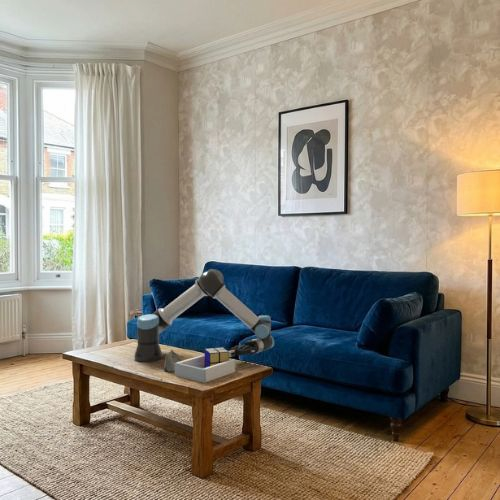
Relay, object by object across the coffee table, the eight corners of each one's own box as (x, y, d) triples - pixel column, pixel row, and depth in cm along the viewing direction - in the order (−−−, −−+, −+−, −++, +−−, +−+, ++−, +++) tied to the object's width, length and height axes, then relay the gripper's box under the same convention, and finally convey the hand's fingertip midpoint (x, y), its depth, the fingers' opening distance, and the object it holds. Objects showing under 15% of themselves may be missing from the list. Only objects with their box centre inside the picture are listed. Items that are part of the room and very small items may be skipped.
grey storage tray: (206, 365, 254) (206, 354, 254) (235, 371, 242) (235, 359, 242) (174, 375, 237) (174, 363, 237) (203, 382, 225) (203, 369, 224)
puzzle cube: (204, 368, 249) (204, 348, 249) (223, 366, 253) (223, 347, 252) (209, 373, 240) (209, 353, 239) (229, 371, 243) (229, 351, 243)
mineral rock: (175, 364, 257) (175, 345, 257) (189, 367, 250) (189, 348, 250) (156, 369, 247) (156, 349, 247) (170, 373, 240) (170, 353, 240)
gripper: (263, 355, 265) (235, 364, 246) (244, 351, 273) (216, 360, 254) (263, 341, 265) (235, 349, 246) (244, 338, 273) (216, 346, 254)
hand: (225, 355), depth 250 cm, fingers closed
